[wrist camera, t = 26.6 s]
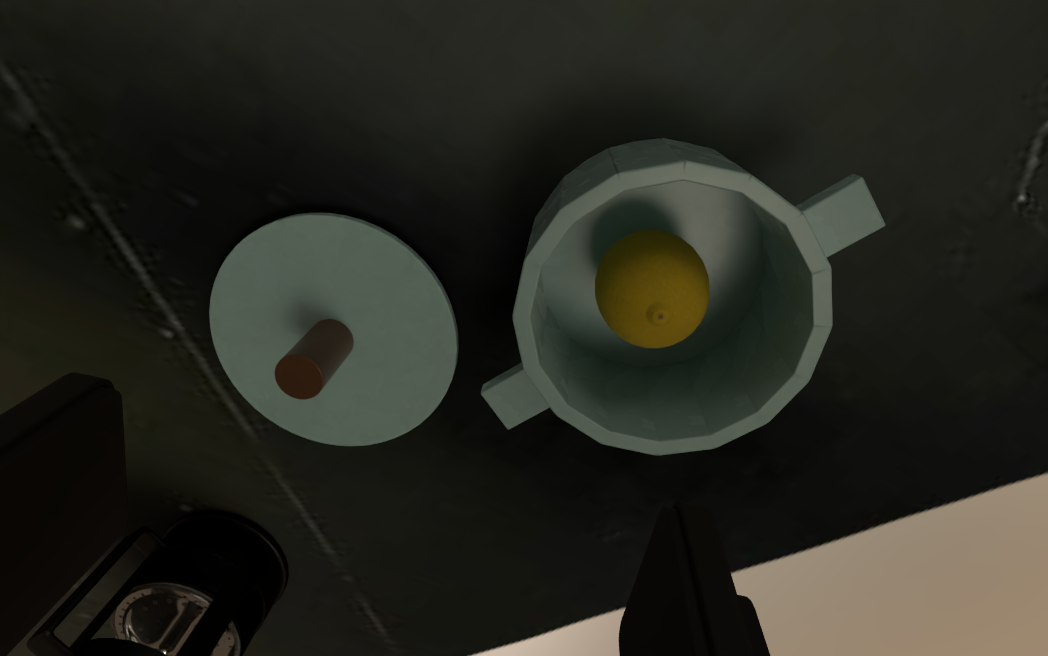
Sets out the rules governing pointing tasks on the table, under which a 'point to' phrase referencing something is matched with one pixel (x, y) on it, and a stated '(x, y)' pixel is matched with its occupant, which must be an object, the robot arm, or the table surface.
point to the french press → (179, 594)
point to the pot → (732, 314)
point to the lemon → (652, 288)
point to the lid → (334, 329)
